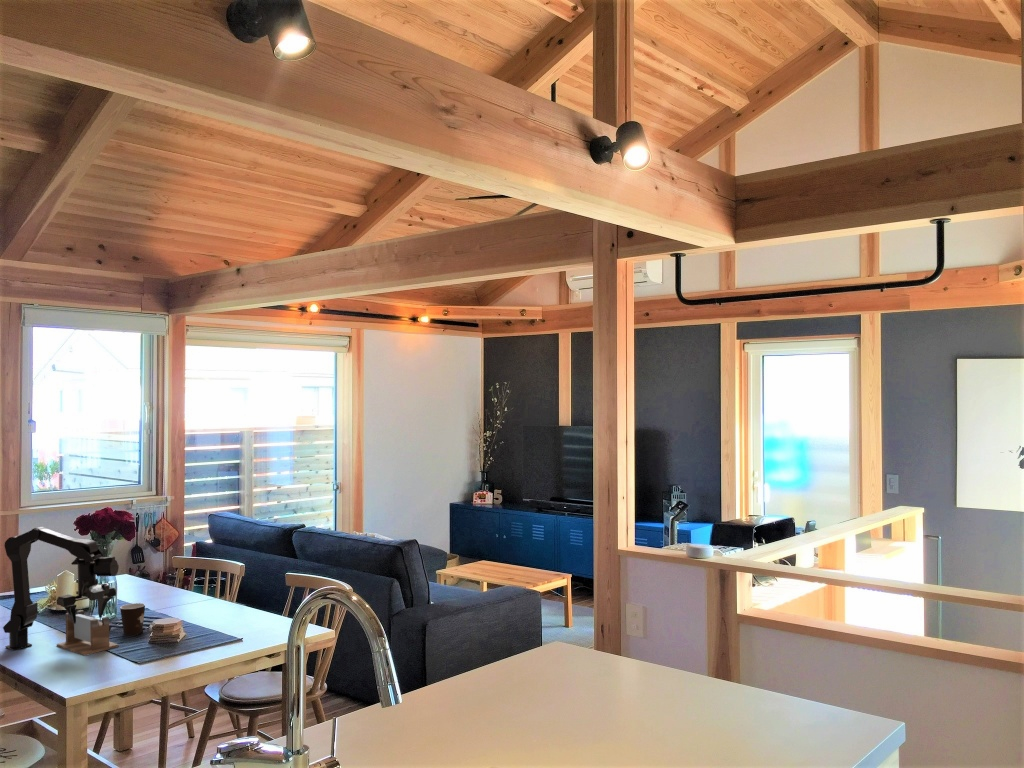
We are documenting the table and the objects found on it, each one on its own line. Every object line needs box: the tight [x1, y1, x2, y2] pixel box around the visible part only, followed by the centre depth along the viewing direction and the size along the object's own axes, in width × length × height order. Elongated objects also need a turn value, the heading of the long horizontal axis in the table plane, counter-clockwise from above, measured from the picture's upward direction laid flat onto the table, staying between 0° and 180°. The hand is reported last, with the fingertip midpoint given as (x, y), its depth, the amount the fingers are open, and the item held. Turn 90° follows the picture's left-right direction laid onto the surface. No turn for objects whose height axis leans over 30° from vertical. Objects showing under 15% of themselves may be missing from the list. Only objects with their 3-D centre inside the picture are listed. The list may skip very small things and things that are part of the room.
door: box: [74, 613, 103, 643], centre depth 296 cm, size 19×2×8 cm, turn 54°
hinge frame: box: [56, 609, 120, 656], centre depth 296 cm, size 20×12×11 cm, turn 53°
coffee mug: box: [119, 602, 146, 636], centre depth 314 cm, size 12×9×10 cm
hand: (87, 620), depth 296 cm, fingers open, 9 cm apart
